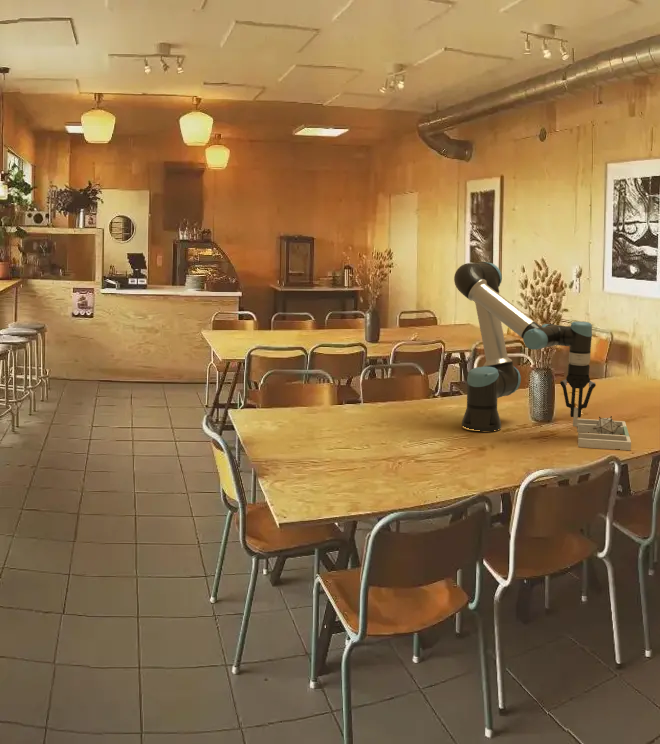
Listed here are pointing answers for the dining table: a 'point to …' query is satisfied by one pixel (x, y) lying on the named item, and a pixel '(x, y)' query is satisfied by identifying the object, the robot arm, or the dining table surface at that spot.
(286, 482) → the dining table surface
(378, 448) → the dining table surface
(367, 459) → the dining table surface
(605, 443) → the trap box
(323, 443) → the dining table surface
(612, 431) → the game die
